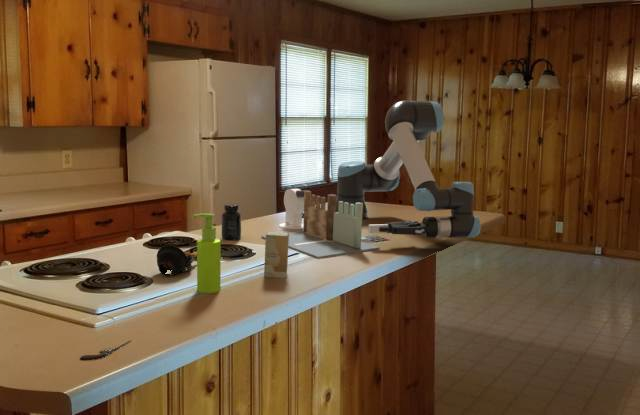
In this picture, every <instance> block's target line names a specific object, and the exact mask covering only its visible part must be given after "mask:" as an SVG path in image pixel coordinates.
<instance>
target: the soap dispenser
mask: <svg viewBox="0 0 640 415" xmlns="http://www.w3.org/2000/svg"><path fill="white" fill-rule="evenodd" d="M192 217H193V218H205V225H204V226H202V231H201V232H202V233H201V234H202V235H201V238H200V239H198V240H196V242H197V243H196V251H197V257H196V261H197V262H196V266H197V267H196V268H197V270H196V271H197V272H196V276H197V277H196V279H197V281H196V289H197V292H198V293H202V294H215V293H218V292H220V291H221V259H222V258H221V256H222V255H221V254H222V253H221V242H222V241H221V239H219V238H216V237H217V236H216V235H217V232H216V230H217V228H216V226H214V225H213V218H215V217H216V215H215V213H208V212H207V213H206V212H202V213H201V212H200V213H196V214H192Z"/></svg>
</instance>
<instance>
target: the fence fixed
mask: <svg viewBox="0 0 640 415" xmlns="http://www.w3.org/2000/svg"><path fill="white" fill-rule="evenodd" d="M336 199H337V194H327V198H326V197H325V196H320V195H316V194H312V191H311V190H306V191H304V212H303V213H304V217H303V224H304V226H303V229H302V231H304V232H308V233H311V234H314V235H317V236H320V237H323V238H326V240H328V241H333V220H334V212H336ZM326 200H327V201H326ZM326 202H327V204H326ZM326 205H327V208H326Z"/></svg>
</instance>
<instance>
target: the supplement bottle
mask: <svg viewBox="0 0 640 415" xmlns="http://www.w3.org/2000/svg"><path fill="white" fill-rule="evenodd" d="M223 208H224V209H223V210H224V212H222V213H221V239H223V240H226V241H236V240H240V239H241V238H242V214H241V212H239V205H238V204H237V203H225V204H224V206H223Z"/></svg>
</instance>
